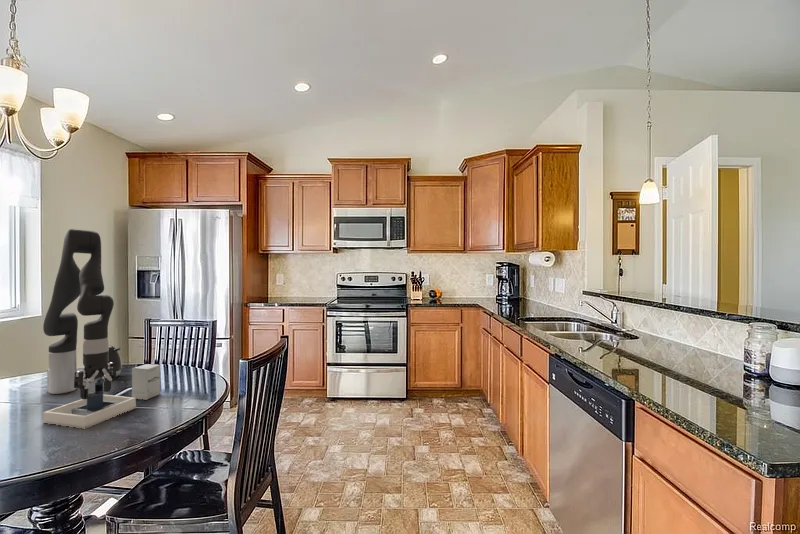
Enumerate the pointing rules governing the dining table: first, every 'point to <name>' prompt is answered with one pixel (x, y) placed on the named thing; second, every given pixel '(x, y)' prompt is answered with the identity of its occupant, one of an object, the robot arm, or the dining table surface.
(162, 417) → the dining table surface
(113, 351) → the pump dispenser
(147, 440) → the dining table surface
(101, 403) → the vaping device
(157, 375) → the supplement box
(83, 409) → the inlet socket
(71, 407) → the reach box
